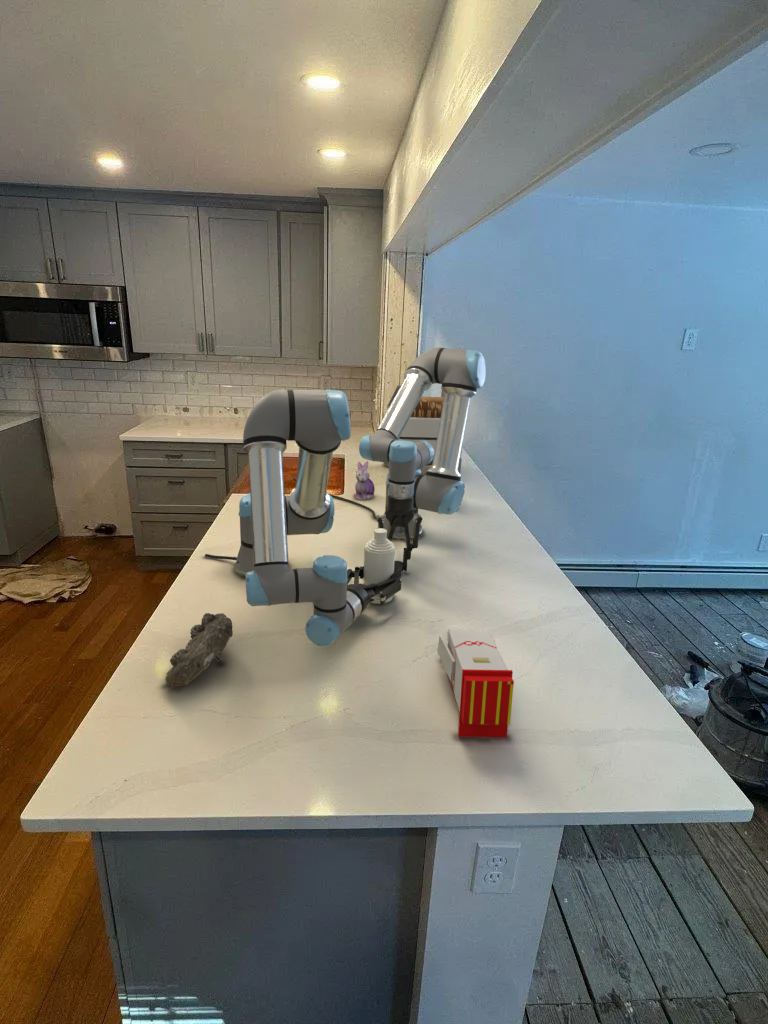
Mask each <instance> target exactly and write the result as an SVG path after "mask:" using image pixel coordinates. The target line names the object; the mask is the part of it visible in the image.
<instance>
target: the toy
mask: <svg viewBox="0 0 768 1024" xmlns="http://www.w3.org/2000/svg"><path fill="white" fill-rule="evenodd" d="M446 640H447V643H446V641H445V639H444V636H443V635H442V634H439V637H438V646H437V656H438V657H439V659H440V661H441V663H442V666H443V668H444V670H445V672H446V674H447V677H448V679H449V681H450V684H451V687H452V690H453V693H454V697H455V701H456V705H457V708H458V711H459V714H458V715H459V716H458V730H457V731H458V732H457V737H458V738H508V731H509V726H510V725H511V717H512V707H513V697H514V696H513V695H514V684H515V680H514V679H513V673H514V671H513V670H512V669H508V667H507V665H506V662H505V661H504V659H503V658H502V655H501V653H500V651H499V649H498V647H497V643H496V639H495V637H494V635H493V634H491V632H490V631H489V629H467V628H466V629H465V628H463V629H461V628H460V629H459V628H448V630H447V639H446Z"/></svg>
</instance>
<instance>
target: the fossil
mask: <svg viewBox="0 0 768 1024" xmlns="http://www.w3.org/2000/svg"><path fill="white" fill-rule="evenodd" d="M233 627H234V625H233V621H232V619H231V618H230V617H227V615H226V614H225V613H224V612H221V613H220V612H219V613H215V614H214V613H210V612H208V613H207V612H205V613H204V614H203V616H202V618H201V622H200V624H199V623H198V624H195V625H194V626H192V627H191V629H190V636H189V637H190V638H191V639H190V640H189V641H188V642H187V645H186V646H185V648H180V649H178V650H177V652H175V653H174V654H173V655H171V657H170V659H169V663H170V665H171V666H172V667H171V668H170V670H168V671H167V672H166V676H165V681H166V685H167V686H171V687H172V688H179V687H183V686H187V685H189V684H190V683H191V682H192V681H193V680H194V679H195V678H197V677H198V676H199V675H200V674H201V673H202V672H204V670H206V669H207V668H208V667H209V665H210V664H211V662H212V661H213V660H215V659H216V660H217V661H218V662H219V664H222V663H223V660H222V659H221V658H220V657H219V656H218V654H219V653H220V652H223V650H224V649H225V648H226V647H227V644H228V642H229V641H230V639H231V638H232V637H233V636H234V635H233V634H234V633H233V632H234V630H233Z"/></svg>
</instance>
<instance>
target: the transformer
mask: <svg viewBox="0 0 768 1024" xmlns="http://www.w3.org/2000/svg"><path fill="white" fill-rule="evenodd" d="M400 387H401V385H399V384H398V385H397V386H396V388H395V390H394V392H393V394H392V395H391V398H390V400H389V402H388V404H387V405H386V411H387V410H388V408H389V406H390V405H391V403H392V401H393V399H394V398H395V396H396V394H397V392H398V390H399V389H400ZM440 393H441V394H440V396H421V398H420V400H419V402H418V404H417V406H416V408H415V409H414V411H413V413H412V415H411V417H410V419H409V421H408V422H407V424H406V426H405V428H404V430H403V432H402V434H401V435H400V437H399V439H398V440H403V441H411V442H416V441H427V442H428V443H430V444H431V445H432V447H433V449H434V453H435V447H436V441H437V436H438V430H439V424H440V419H441V413H442V407H443V402H444V396H445V394H444V392H443V391H442V390H441V392H440ZM462 453H463V447H462V448H461V454H460V459H459V465H458V472H459V474H460V475H461V472H462V461H463V460H462ZM433 459H434V457H433ZM382 463H383V462H382ZM432 464H433V460H432V461H431V462H430V463H429V464H427V465H426V466H425V467H431V466H432ZM383 466H384V467H388V468H389V463H383Z"/></svg>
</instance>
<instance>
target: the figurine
mask: <svg viewBox="0 0 768 1024" xmlns="http://www.w3.org/2000/svg"><path fill="white" fill-rule="evenodd" d="M368 468H369V460H367V461H365V463H364V464H363V465H362V462H360V461H358V462H357V472H356V474H355V478H356V480H357V481H356V483H355V488H354V489H355V493H354V497H355V499H356V500H361V501H362V500H363V501H364V500H370V499H372V498H374V496H375V491H376V488H375V484H374V482H373V481H372V479H370V473H369V471H368Z"/></svg>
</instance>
